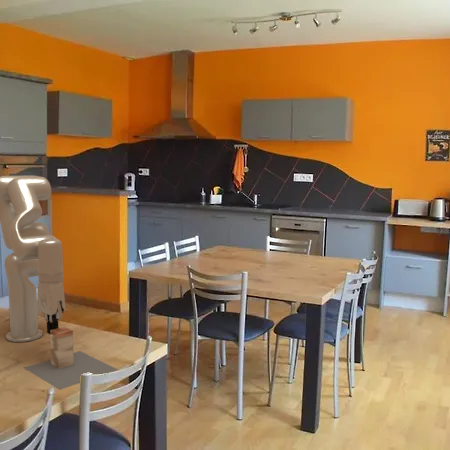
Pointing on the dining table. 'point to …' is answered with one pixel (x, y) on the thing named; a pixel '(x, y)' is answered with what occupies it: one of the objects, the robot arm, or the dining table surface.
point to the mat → (69, 370)
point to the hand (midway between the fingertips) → (52, 332)
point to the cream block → (61, 347)
